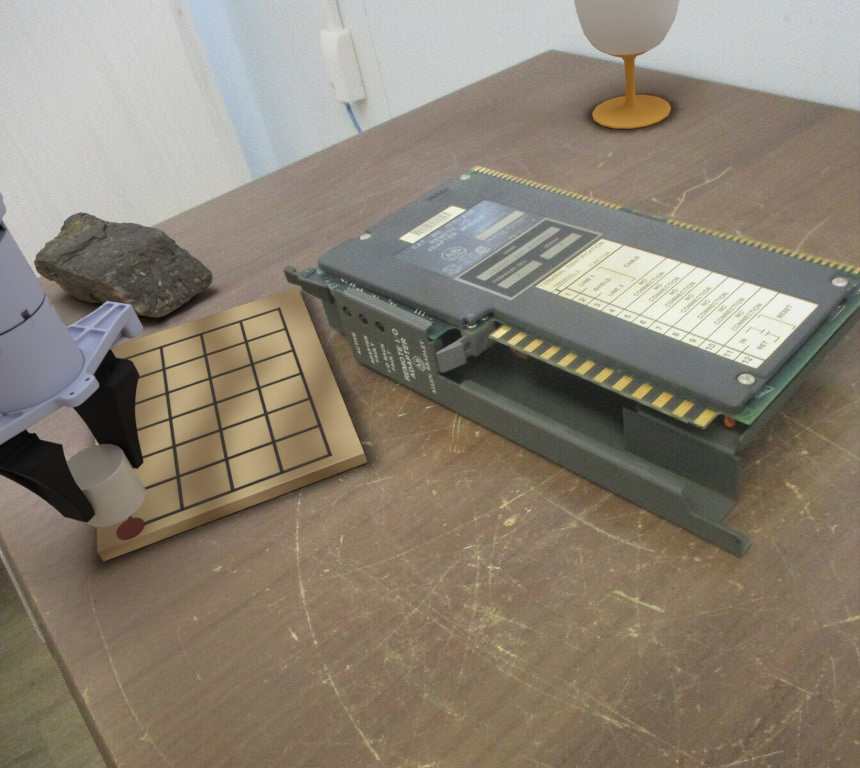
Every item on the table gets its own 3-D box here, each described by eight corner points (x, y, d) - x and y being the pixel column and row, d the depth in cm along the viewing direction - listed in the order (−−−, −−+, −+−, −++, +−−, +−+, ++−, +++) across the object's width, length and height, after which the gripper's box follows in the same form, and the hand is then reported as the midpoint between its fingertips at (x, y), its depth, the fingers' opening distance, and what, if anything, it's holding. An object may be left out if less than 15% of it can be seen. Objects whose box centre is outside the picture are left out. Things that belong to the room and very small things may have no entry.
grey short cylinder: (83, 537, 51) (57, 500, 49) (81, 494, 54) (56, 458, 52) (149, 511, 52) (125, 474, 50) (143, 471, 55) (121, 434, 53)
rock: (-4, 289, 74) (47, 208, 80) (46, 335, 80) (91, 257, 85) (159, 286, 70) (202, 200, 75) (201, 335, 75) (238, 252, 81)
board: (103, 562, 54) (96, 551, 54) (98, 361, 72) (92, 352, 71) (367, 462, 58) (364, 451, 57) (301, 295, 76) (297, 285, 75)
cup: (576, 137, 93) (562, -26, 82) (584, 95, 102) (572, -57, 91) (683, 131, 91) (684, -38, 80) (682, 88, 100) (682, -69, 89)
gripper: (-75, 418, 37) (68, 597, 46) (139, 246, 47) (224, 420, 56) (-176, 395, 40) (-22, 569, 49) (48, 236, 50) (142, 405, 58)
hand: (104, 488), depth 52 cm, fingers closed on grey short cylinder, 4 cm apart
